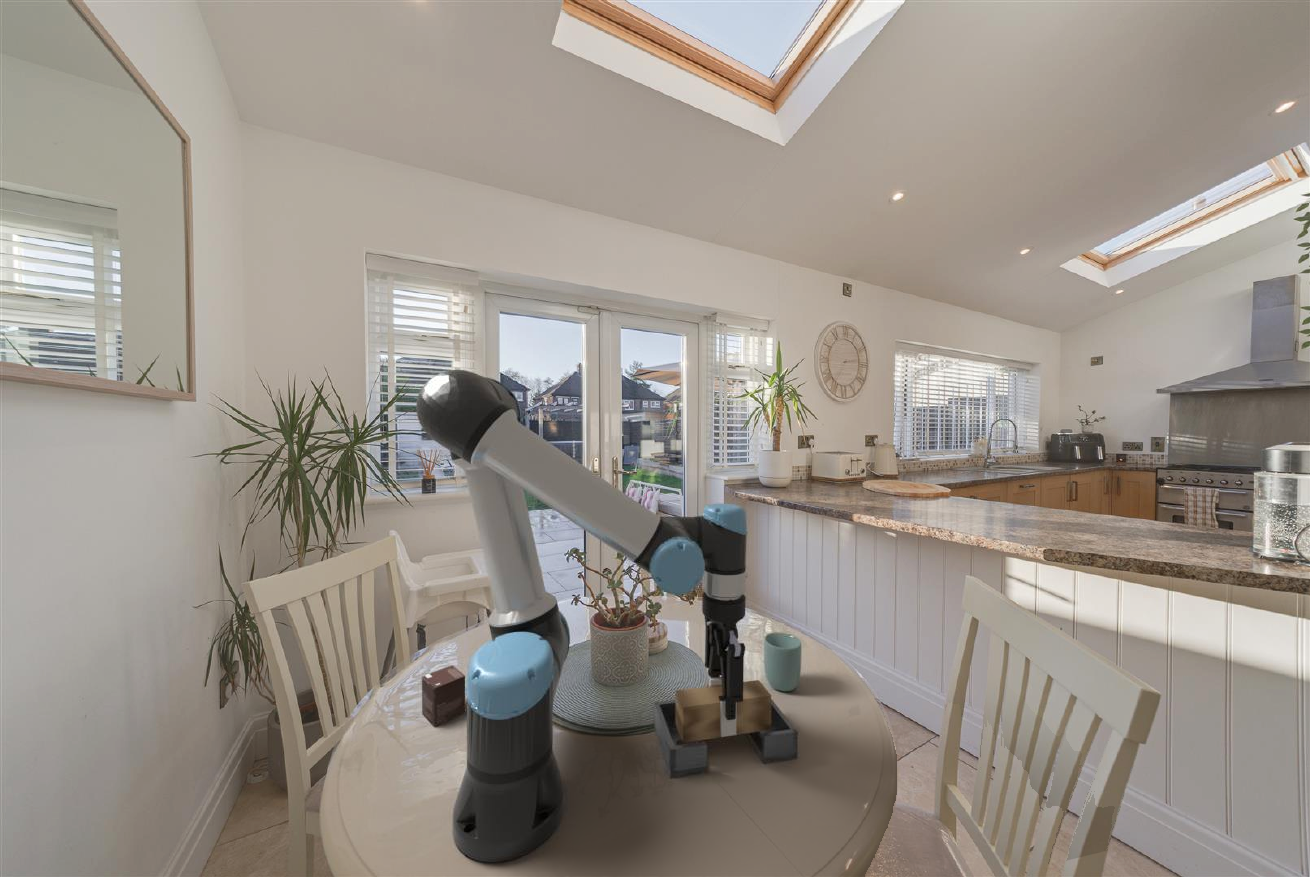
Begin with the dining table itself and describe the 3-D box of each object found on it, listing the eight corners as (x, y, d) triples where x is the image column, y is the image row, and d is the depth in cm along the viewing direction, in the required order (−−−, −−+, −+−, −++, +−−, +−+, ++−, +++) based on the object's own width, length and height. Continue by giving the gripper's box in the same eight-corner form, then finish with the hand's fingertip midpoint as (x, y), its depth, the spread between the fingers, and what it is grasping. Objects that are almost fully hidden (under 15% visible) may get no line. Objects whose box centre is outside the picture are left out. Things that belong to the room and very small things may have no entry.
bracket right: (763, 712, 87) (764, 689, 87) (797, 758, 75) (797, 731, 75) (734, 716, 86) (735, 692, 86) (764, 763, 74) (764, 736, 74)
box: (466, 713, 86) (466, 675, 86) (433, 728, 82) (433, 688, 82) (452, 700, 90) (452, 664, 90) (421, 713, 86) (421, 676, 86)
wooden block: (683, 742, 75) (683, 707, 75) (675, 723, 80) (675, 690, 80) (771, 729, 78) (771, 695, 78) (758, 712, 83) (758, 680, 83)
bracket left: (670, 778, 71) (670, 750, 70) (653, 726, 83) (654, 702, 83) (706, 772, 72) (707, 744, 72) (685, 722, 84) (685, 698, 84)
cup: (803, 698, 92) (803, 650, 92) (764, 694, 94) (764, 646, 93) (798, 678, 100) (799, 634, 100) (762, 674, 101) (763, 630, 101)
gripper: (766, 611, 71) (764, 757, 71) (725, 575, 88) (723, 692, 89) (721, 615, 69) (719, 764, 69) (688, 577, 87) (687, 696, 87)
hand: (722, 723), depth 79 cm, fingers closed on wooden block, 5 cm apart
